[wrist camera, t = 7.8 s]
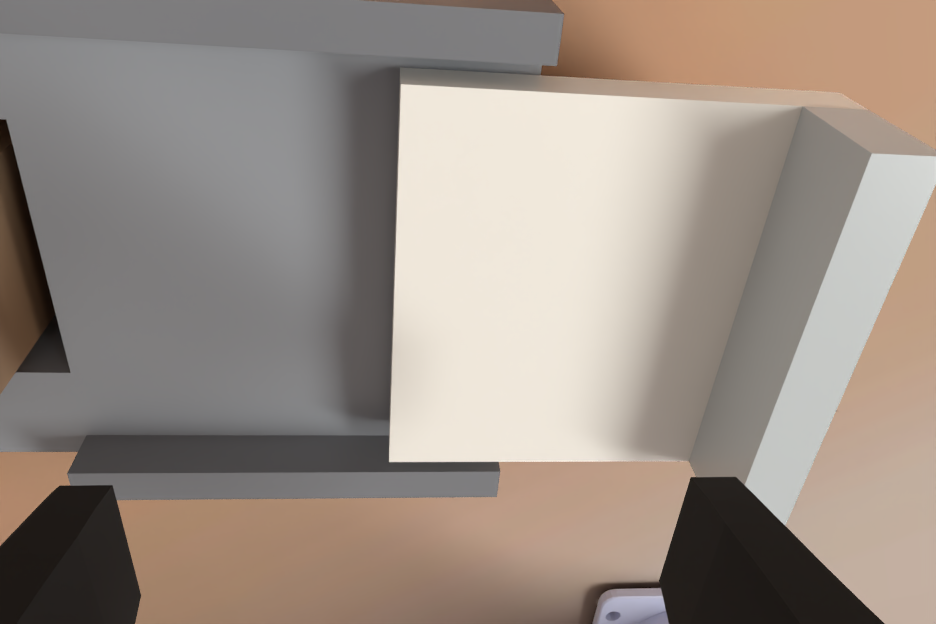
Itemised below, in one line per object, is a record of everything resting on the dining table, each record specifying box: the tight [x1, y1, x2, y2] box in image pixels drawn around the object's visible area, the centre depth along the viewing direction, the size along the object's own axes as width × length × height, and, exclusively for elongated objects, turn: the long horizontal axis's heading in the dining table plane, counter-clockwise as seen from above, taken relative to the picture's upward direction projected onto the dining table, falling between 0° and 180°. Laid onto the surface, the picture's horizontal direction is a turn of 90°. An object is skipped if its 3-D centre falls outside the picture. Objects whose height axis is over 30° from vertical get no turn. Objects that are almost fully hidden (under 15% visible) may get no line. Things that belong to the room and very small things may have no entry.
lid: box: [389, 67, 936, 525], centre depth 14 cm, size 8×8×3 cm
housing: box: [0, 0, 564, 500], centre depth 15 cm, size 11×16×4 cm, turn 86°
